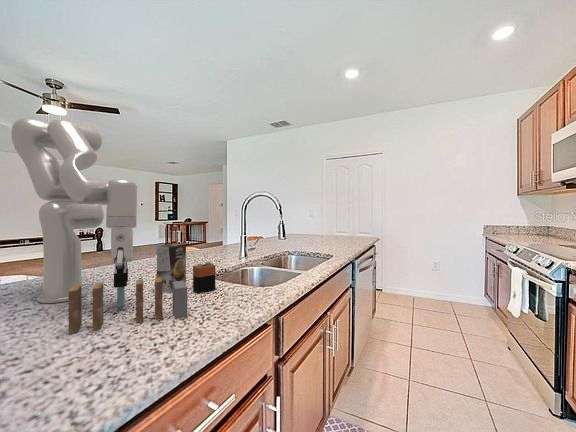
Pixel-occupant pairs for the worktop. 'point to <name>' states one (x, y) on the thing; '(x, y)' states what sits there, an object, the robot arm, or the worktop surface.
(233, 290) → the worktop surface
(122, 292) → the domino
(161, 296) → the domino
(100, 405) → the worktop surface
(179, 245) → the coffee box
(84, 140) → the robot arm
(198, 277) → the battery
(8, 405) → the worktop surface
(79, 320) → the domino
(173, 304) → the block
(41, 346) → the worktop surface
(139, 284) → the domino
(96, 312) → the domino
